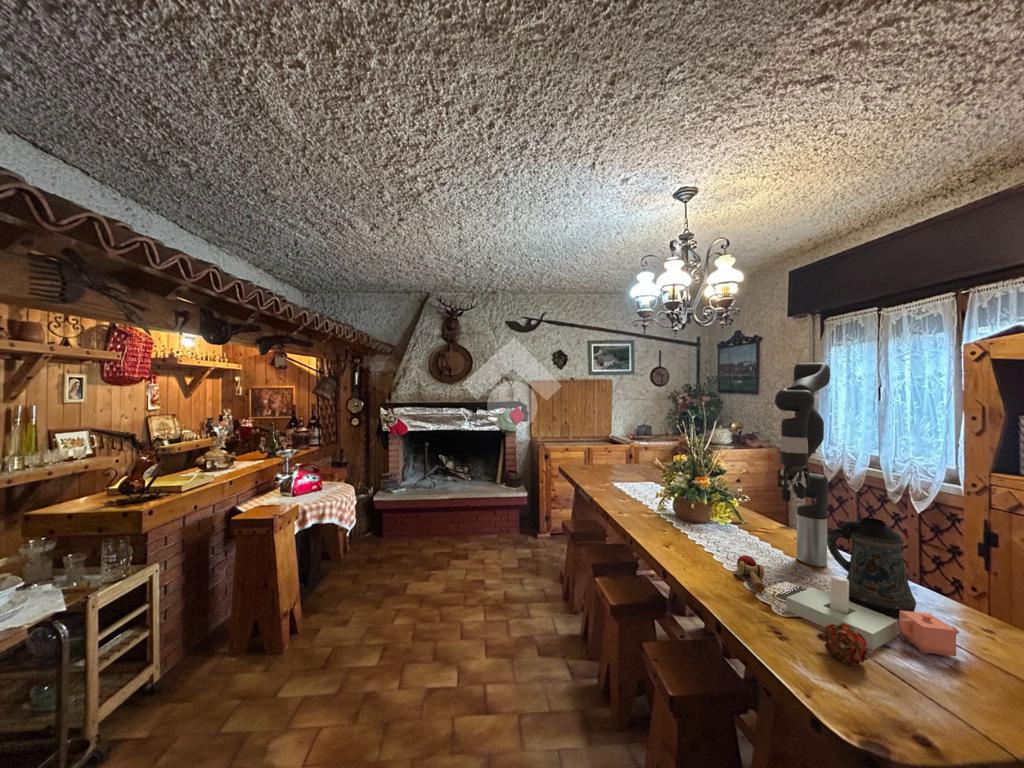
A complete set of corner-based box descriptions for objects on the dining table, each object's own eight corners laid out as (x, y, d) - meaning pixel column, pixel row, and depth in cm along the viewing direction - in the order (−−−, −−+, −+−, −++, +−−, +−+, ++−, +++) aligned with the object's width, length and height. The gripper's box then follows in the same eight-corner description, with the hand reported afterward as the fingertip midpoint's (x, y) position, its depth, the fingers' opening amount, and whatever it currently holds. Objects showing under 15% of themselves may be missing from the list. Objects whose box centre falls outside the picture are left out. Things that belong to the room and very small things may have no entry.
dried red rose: (851, 682, 91) (831, 658, 102) (889, 665, 89) (864, 643, 100) (823, 643, 94) (806, 624, 105) (858, 626, 92) (837, 609, 103)
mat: (785, 581, 137) (785, 580, 137) (818, 594, 128) (818, 593, 128) (760, 590, 130) (760, 589, 130) (794, 604, 121) (794, 603, 122)
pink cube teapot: (972, 662, 96) (972, 627, 97) (912, 655, 99) (912, 620, 99) (944, 643, 104) (944, 610, 104) (890, 636, 106) (890, 604, 107)
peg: (834, 617, 115) (834, 574, 115) (851, 624, 112) (851, 580, 112) (827, 620, 113) (827, 577, 113) (844, 628, 110) (844, 583, 110)
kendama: (776, 597, 127) (758, 567, 144) (772, 578, 127) (755, 550, 144) (748, 598, 129) (734, 569, 147) (745, 579, 129) (731, 552, 146)
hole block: (812, 600, 124) (812, 587, 124) (897, 635, 107) (897, 620, 107) (786, 611, 118) (786, 597, 118) (872, 650, 100) (872, 634, 100)
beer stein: (932, 622, 113) (932, 532, 114) (852, 613, 117) (852, 526, 118) (890, 594, 130) (890, 515, 130) (821, 587, 134) (821, 510, 134)
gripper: (793, 448, 141) (793, 495, 141) (769, 450, 135) (769, 499, 134) (818, 451, 135) (817, 500, 134) (794, 453, 128) (793, 505, 128)
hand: (793, 499), depth 134 cm, fingers open, 8 cm apart
